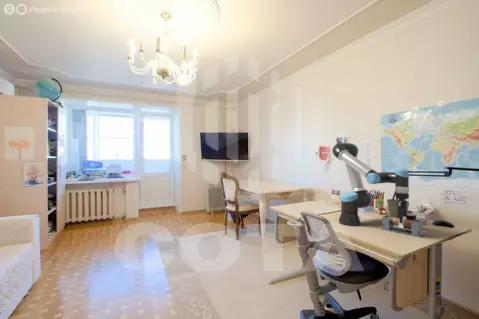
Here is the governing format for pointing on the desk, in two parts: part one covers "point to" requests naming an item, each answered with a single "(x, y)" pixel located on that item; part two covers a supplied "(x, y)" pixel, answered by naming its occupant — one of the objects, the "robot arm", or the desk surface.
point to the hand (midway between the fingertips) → (402, 226)
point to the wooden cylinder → (396, 222)
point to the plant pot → (394, 207)
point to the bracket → (413, 232)
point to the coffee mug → (410, 218)
